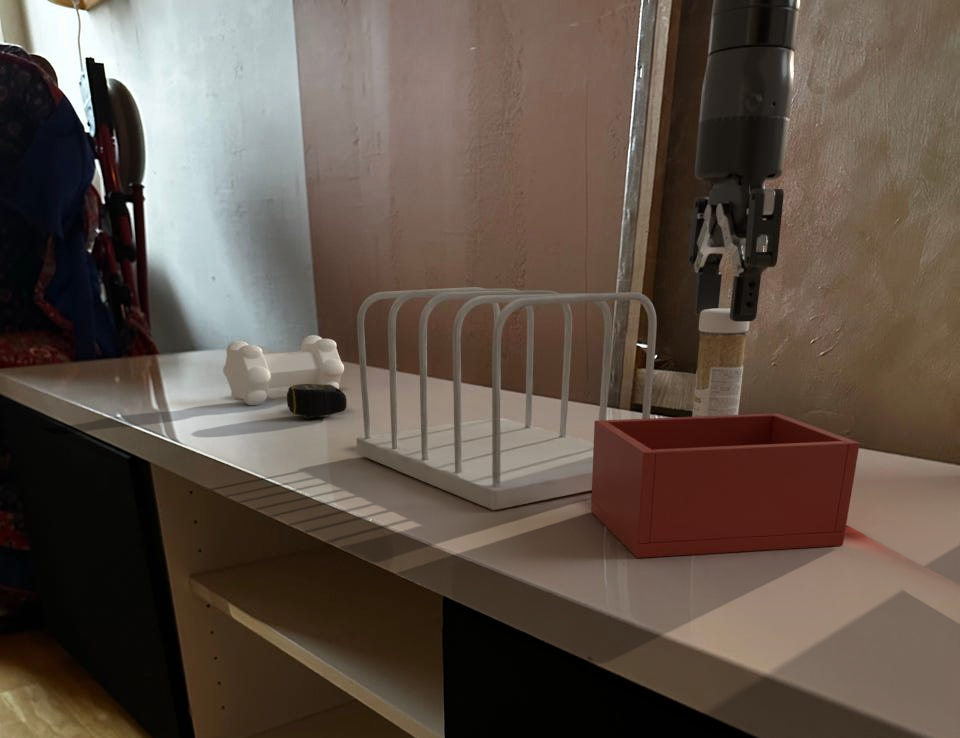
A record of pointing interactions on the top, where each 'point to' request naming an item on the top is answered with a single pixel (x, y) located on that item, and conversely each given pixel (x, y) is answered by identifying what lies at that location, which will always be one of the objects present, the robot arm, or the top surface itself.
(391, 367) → the file sorter
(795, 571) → the top surface
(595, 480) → the red storage bin
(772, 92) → the robot arm
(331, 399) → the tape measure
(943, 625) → the top surface
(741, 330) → the sprinkles bottle
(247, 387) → the bone shaped toy
